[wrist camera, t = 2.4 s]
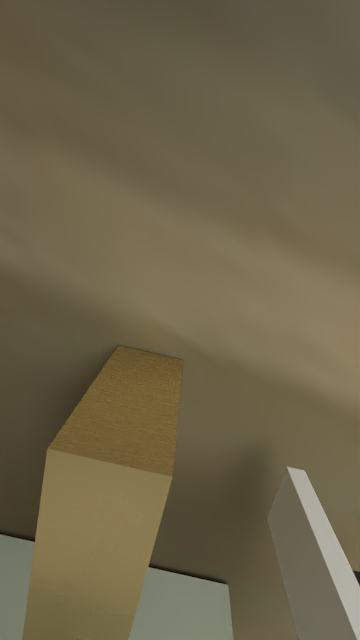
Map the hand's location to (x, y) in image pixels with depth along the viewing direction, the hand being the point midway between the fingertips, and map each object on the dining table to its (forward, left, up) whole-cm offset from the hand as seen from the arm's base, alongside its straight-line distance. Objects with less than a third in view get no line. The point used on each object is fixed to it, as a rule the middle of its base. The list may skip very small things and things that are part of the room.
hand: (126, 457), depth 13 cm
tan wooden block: (0, 0, -2) cm, 2 cm away
